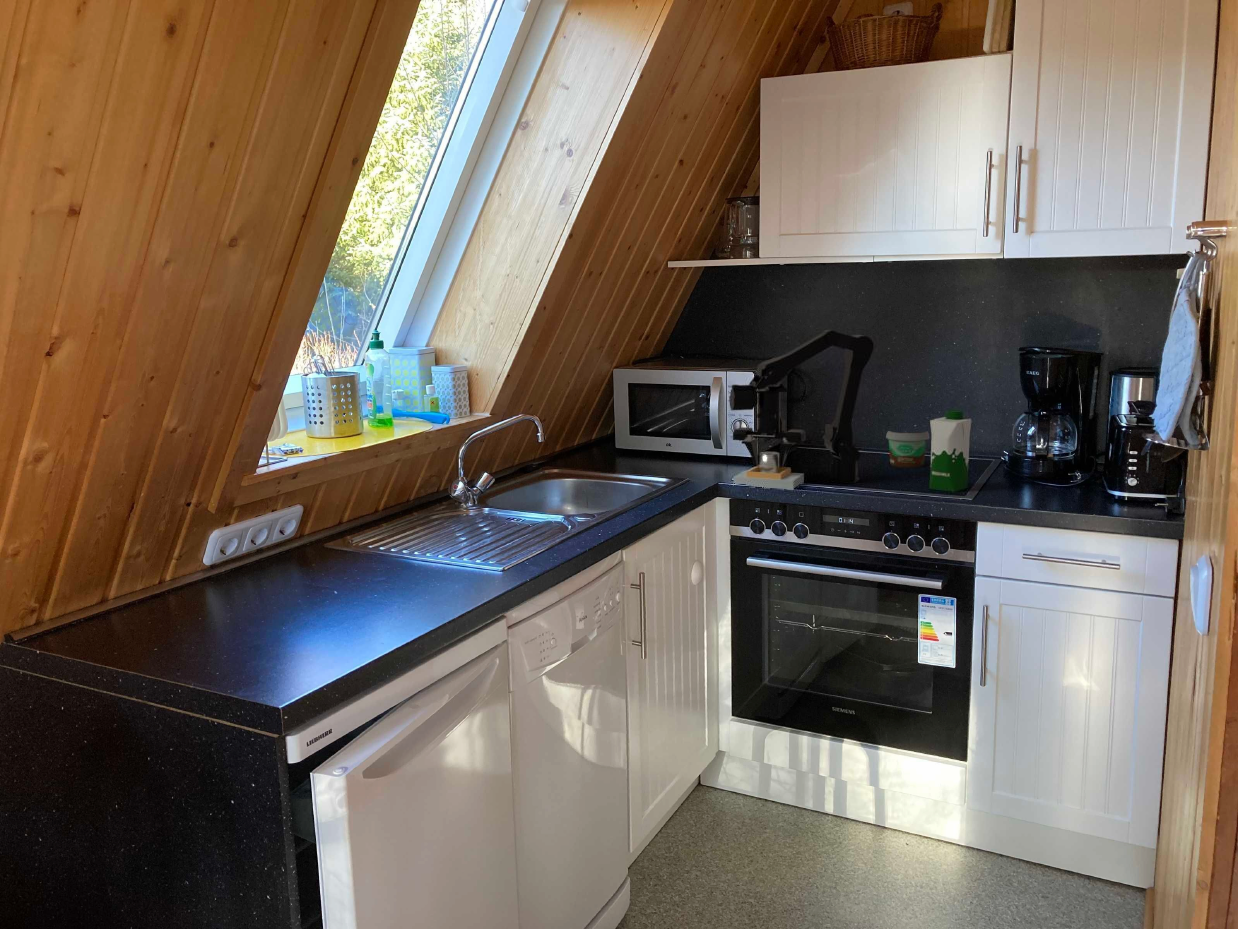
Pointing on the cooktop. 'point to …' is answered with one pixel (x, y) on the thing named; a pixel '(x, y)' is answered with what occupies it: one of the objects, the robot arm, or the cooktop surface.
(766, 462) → the steel can
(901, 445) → the food container
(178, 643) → the cooktop surface
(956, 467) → the milk carton
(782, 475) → the grey slab with frame
